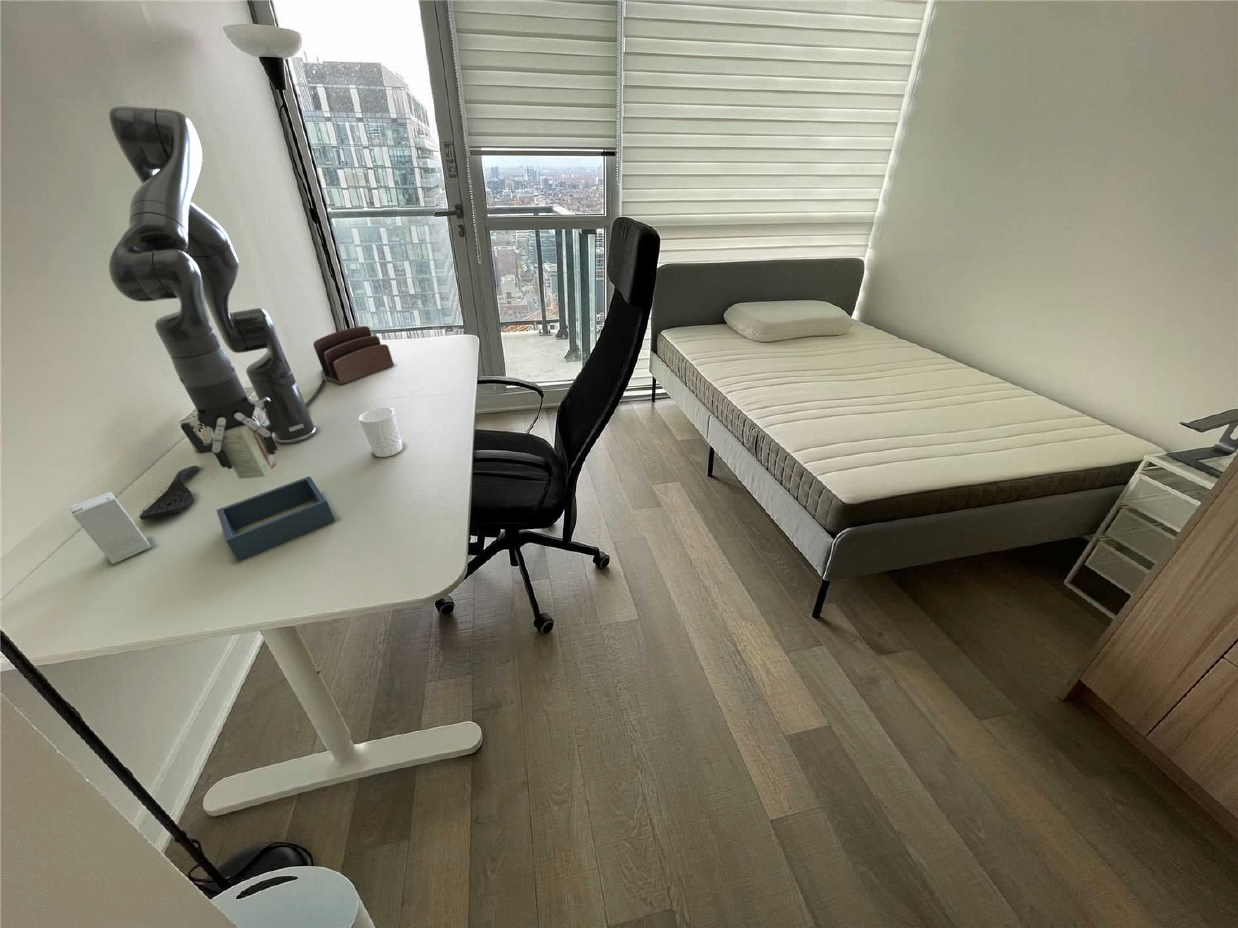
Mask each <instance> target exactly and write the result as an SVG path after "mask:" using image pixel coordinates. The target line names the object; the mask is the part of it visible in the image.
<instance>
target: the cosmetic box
mask: <svg viewBox="0 0 1238 928" xmlns="http://www.w3.org/2000/svg"><path fill="white" fill-rule="evenodd" d="M69 510H70V512H71V515H72V516H73V518H74V519H75V520H76V521H77V522H78V523H79V525H80V526H81V527H82V529H83V530H84V531H85V532H86V533H87V535H88V536H89V537H90V538H91V539H92V541H93V542H94V543H95V544H96V546H97V547H98V548H99V549H100V550H101V552H102V553H103V555H104V556H105V557H106V558H107V559H108V560H109V562H110V563H111V564H113V565H114V564H117V563H119V562H121V561H124V560H126V559H128V558H131V557H133V556H134V555H137V554H140V553H142V552H144V551H146V550H149V549H150V548H151V545H150V543H149V541H148V539H147V538H146V537H145V536H144V534H143V533H142V531H141V530H140V529H139V527H138V526H137V525H136V523H135V522H134V521H133V519H132V517H130V515H129V513H127V511H126V510H125V508H124V507H123V506H122V504H121V503H120V502H119V500H117V498H116V496H115V494H113V493H112V491H108V492H106V493H103V494H100V495H97V496H95V497H92V498H90V499H87V500H84V501H82V502H81V501H80V502H78V503H76V504H73V505H70V506H69Z"/></svg>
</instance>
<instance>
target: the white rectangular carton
mask: <svg viewBox="0 0 1238 928" xmlns="http://www.w3.org/2000/svg"><path fill="white" fill-rule="evenodd" d="M251 420H253V419H251ZM253 421H254V420H253ZM252 425H253V424H252ZM213 433H215V431H214V432H213ZM221 447H222V449H223V451H224V452H225V454H226V456H227V458H228V460H229V462H230V463H231V465H232V469H233V471H234V473H235V474H236V476H237V478H238V479H252V478H253V479H254V478H264V477H266V476H267V475H268V474H269V473H270V472H272V470H273V469H274V468H276V466H277V463H276V461H275V459H274V457H273V455H271V453H270V451H269V449H268V447H267V445H266V443H265V441H264V439H263V437H262V435H261V434H260V433H258V432H257V431H255V430H253V429H252V428H250V427H249V426H247V425H246V424H245V425H242V426H238V427H235V428H231V429H228V430H226V431H224V435H223V441H222V444H221Z"/></svg>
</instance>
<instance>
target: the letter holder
mask: <svg viewBox="0 0 1238 928" xmlns="http://www.w3.org/2000/svg"><path fill="white" fill-rule="evenodd" d="M313 349H314V351H315V353H316V356H317V358H318V361H319V364H320V367H321V369H323V370H322V373H323V372H324V375H325V380H326V381H330V382H332V383H335V384H338V385H341V386H342V385H345V384H347V383H350V382H353V381H356V380H358V379H361V378H363V377H366V376H369V375H372V374H375V373H377V372H379V371H382V370H386V369H388V368H390V367H393V366H395V363H394V360H393V358H392V357H393V356H392V354H391V351H390V348H389V345H388V344H382V342H381V340H380V337H379V336H378V335H373V334H372V331H371V328H370V327H369V326H367V325H362V326H354V327H350V328H345V329H342V330H338V331H335V332H333V333H330V334H327V335H324V336H322V337H319V338H318V339H315V341H314V342H313Z"/></svg>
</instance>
